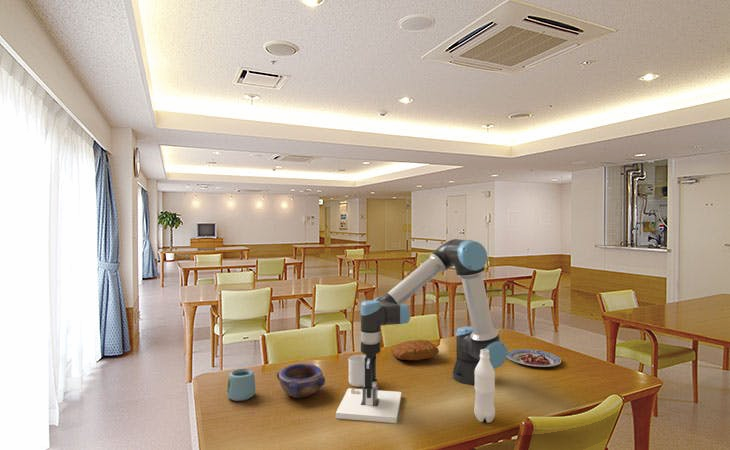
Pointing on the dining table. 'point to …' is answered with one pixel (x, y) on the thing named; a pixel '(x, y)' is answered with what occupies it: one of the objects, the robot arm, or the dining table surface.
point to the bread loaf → (414, 350)
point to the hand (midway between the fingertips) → (370, 401)
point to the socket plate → (369, 407)
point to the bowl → (301, 379)
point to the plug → (375, 394)
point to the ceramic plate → (533, 358)
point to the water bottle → (484, 388)
